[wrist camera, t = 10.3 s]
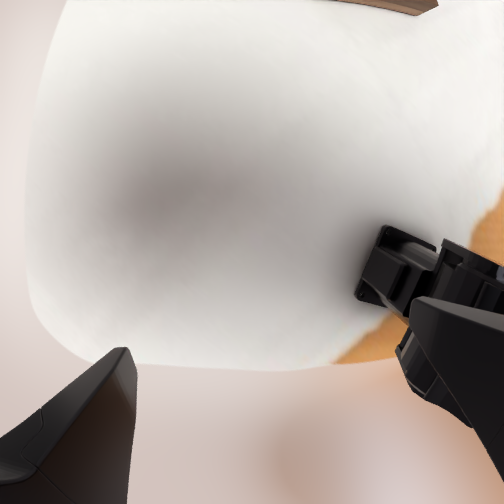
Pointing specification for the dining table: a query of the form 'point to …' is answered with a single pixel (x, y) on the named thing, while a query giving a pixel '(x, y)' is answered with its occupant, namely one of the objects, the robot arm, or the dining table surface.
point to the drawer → (401, 5)
